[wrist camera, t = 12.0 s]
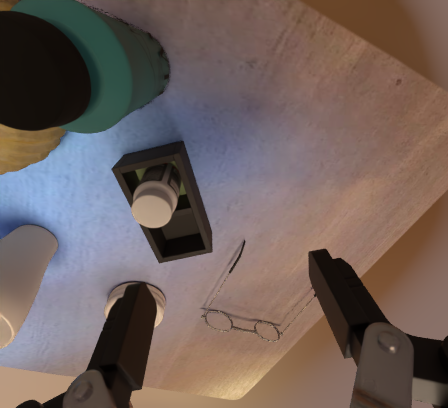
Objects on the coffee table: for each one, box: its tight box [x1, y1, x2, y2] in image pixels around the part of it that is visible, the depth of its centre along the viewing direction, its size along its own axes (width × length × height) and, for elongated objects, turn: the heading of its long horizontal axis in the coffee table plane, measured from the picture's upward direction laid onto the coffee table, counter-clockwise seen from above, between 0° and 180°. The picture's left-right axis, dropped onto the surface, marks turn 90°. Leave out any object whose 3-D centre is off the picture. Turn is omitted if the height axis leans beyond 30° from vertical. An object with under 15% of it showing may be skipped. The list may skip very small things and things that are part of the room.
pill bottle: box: [131, 163, 181, 228], centre depth 28 cm, size 5×5×8 cm
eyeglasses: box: [201, 240, 316, 342], centre depth 43 cm, size 18×19×4 cm
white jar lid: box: [104, 282, 166, 328], centre depth 43 cm, size 10×10×4 cm
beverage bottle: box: [0, 0, 171, 133], centre depth 17 cm, size 6×7×20 cm
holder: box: [112, 141, 212, 263], centre depth 32 cm, size 8×15×5 cm, turn 13°
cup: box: [0, 225, 58, 349], centre depth 30 cm, size 10×10×14 cm
